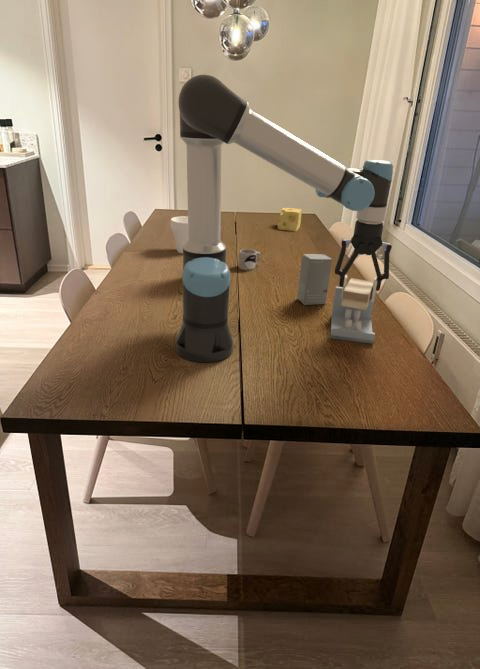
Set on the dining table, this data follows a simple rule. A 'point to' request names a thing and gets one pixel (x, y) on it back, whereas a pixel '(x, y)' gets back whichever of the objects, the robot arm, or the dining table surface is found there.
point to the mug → (248, 259)
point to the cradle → (351, 321)
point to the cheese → (290, 219)
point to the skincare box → (314, 279)
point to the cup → (180, 231)
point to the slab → (357, 294)
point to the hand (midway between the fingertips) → (357, 298)
